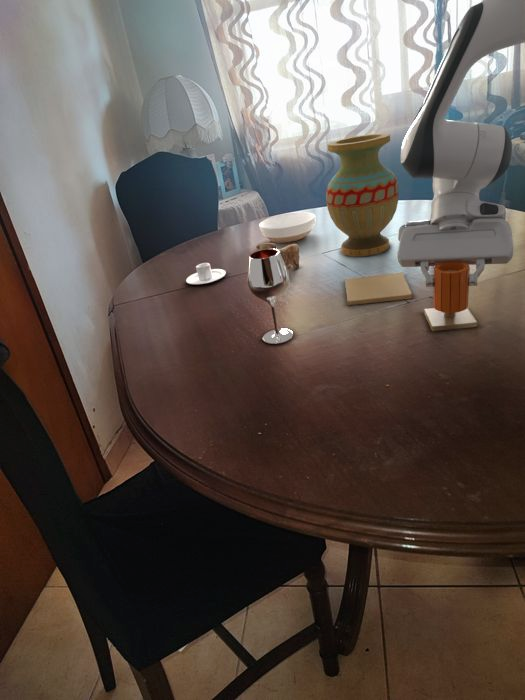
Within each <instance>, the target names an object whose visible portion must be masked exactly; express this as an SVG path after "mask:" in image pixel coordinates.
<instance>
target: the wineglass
mask: <svg viewBox="0 0 525 700" xmlns="http://www.w3.org/2000/svg"><path fill="white" fill-rule="evenodd" d="M276 249H277V248H276ZM276 249H264V250H260V251H259V250H257V251H254V252H252V253H251V254H250V255H248V257H249V258H248V267H247V268H248V269H247V285H248V289H249V291H250V292H251V293H252V295H254V296H255V297H256V298H257V299H259V300H261V301H262V302H265V303H267V304H268V305H269V307H270V308H271V313H272V320H273V325H274V329H272V330H270V331H268V332H265V333H264V335H263V336H262V340H263V342H264V343H266V344H268V345H281V344H284V343H287V342H288V341H290V340H291V339H292V338H294V331H292V330H290V329H288V328H280V326H279V322H278V321H279V320H278V315H277V310H276V309H277V308H276V305H277V302H278V301H279V300H280V299H281V298H282V297H283V296H284V295H285V293H286V292H287V290H288V288H289V286H290V279H291V278H290V275H289V271H288V268H286V266H285V264H284V261H283V259H282V257H281V255H280V253H279V251H278V250H276Z"/></svg>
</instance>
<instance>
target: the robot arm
mask: <svg viewBox="0 0 525 700" xmlns="http://www.w3.org/2000/svg"><path fill="white" fill-rule="evenodd" d="M460 20H461V21H460V22H459V24H458V26H457V27H456V30H455V31H454V34H453V36H452V38H451V40H450V42H449V44H448V46H447V48H446V50H445V53H444V54H443V57H442V59H441V62H440V63H439V65H438V68H437V70H436V72H435V75H434V76H433V79H432V81H431V82H430V83H431V84H430V86H429V88H428V90H427V92H426V95H425V97H424V99H423V101H422V103H421V105H420V108H419V110H418V111H417V114H416V115H415V117H414V119H413V121H412V123H411V125H410V127H409V129H408V131H407V133H406V135H405V136H404V139H403V140H402V144H401V148H400V157H399V158H400V161H399V162H400V164H401V166H402V168H403V169H404V170H405V171H406V173H407V174H408V175H409V176H411V178H413V179H426V180H427V179H432V193H433V198H432V200H431V206H430V219H425V220H423V219H422V220H417V221H413V220H411V221H406V223H404V224H402V225H401V226H400V227H399V228H398V231H397V239H398V241H399V243H398V244H399V245H398V248H397V252H396V253H397V255H396V258H397V259H396V260H397V262H398V264H399V265H400V266H401V267H402V268H420V271H421V273H422V275H423V277H424V279H425V287H427V288H434V274H430V273H429V271H430V267H435V266H436V265H437V264H440V263H444V262H449V261H452V262H453V261H458V262H464V263H467V264H468V265H469V266H473V265H474V266H475V269H476V270H475V271H474V273H469V287H478V278H479V277H480V276H481V274H482V273H483V272H484V271H485V265H505V264H508V263H510V261H511V260H512V259H513V257H514V238H513V237H514V236H513V233H512V232H513V231H512V227H511V224H510V222H509V221H508V220H507V209H506V206H505V205H503V204H499V203H493V202H488V201H485V200H480V199H481V198H480V192H481V190H482V189H486V188H488V187H489V186H491V185H492V184H493V183H495V182H496V181H497V180H498V179H500V178H501V177H502V176H503V175H504V174H505V173H506V171H507V170H508V168H509V166H510V163H511V159H512V155H513V154H512V153H513V141H512V138H511V135H510V133H509V131H508V129H507V128H506V127H505V126H503V125H498V124H494V123H493V124H491V123H483V122H469V121H461V120H451V119H450V120H449V119H446V116H447V115H448V112H449V110H450V108H451V106H452V105H453V102H454V100H455V98H456V96H457V94H458V92H459V90H460V88H461V86H462V84H463V82H464V80H465V78H466V76H467V74H468V73H469V71H470V69H471V68H472V67H473V66H474V65H475V64H476V63H477V62H478V61H480V60H481V59H484V57H486V56H488V55H490V54H493V53H495V52H498V51H500V50H503V49H506V48H510V47H513V46H517V45H520V44H523V43H525V0H482V1H481V2H478V3H477V4H474V5H472V6H470V7H469V9H468V10H467V11H466V12H465V14H464V16H463V17H462V19H460Z"/></svg>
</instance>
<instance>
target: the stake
mask: <svg viewBox="0 0 525 700" xmlns="http://www.w3.org/2000/svg"><path fill="white" fill-rule="evenodd" d="M447 271H448V272H453V271H455V270H447ZM423 314H424V316H425V319H426V320H427V322H428V325H429V328H430V330H431V331H432V332H437V331H438V332H439V331H450V330H461V329H468V328H469V329H470V328H477V327H478V321H477V320H476V318H475V317H474V315H473V313H472V312H471V311H470V310H469V308H468V307H467V308H466V309H465V310H463V311H461V312H456V313H444V312H440V311H437V310H436V309H435V308H434V307H432V308H431V307H430V308H423Z"/></svg>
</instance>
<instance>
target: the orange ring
mask: <svg viewBox="0 0 525 700" xmlns="http://www.w3.org/2000/svg"><path fill="white" fill-rule="evenodd" d="M470 266H471V265H468V264H467V263H464V262H458V261H453V262H452V261H449V262H444V263H440V264H437V265H436V266H433V275H434V287H433V308H435V309H436V310H437V311H440V312H444V313H456V312H461V311H463V310H465V309H466V308H468V307H469V295H470V294H469V293H470V292H469V291H470V286H469V274H470ZM447 270H455V271H453V272H448V271H447Z"/></svg>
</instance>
